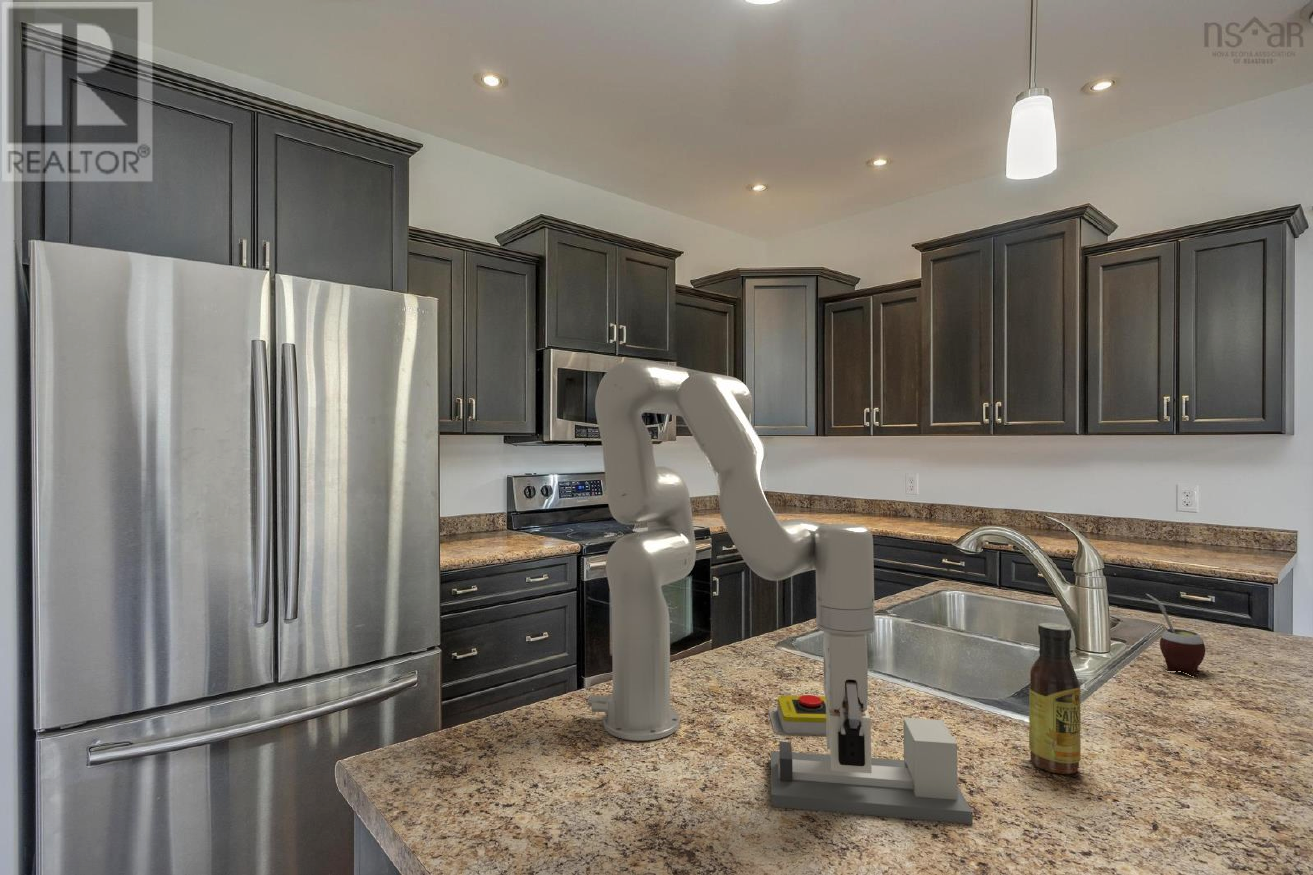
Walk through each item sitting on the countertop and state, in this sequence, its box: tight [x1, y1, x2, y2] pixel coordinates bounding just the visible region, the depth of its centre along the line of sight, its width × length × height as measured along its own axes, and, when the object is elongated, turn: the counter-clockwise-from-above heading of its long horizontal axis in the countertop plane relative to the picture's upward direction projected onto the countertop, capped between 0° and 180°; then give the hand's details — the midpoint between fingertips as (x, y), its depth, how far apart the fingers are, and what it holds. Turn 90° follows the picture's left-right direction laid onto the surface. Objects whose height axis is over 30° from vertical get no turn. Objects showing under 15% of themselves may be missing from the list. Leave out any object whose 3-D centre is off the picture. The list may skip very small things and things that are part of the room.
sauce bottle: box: [1028, 622, 1082, 775], centre depth 92 cm, size 6×6×20 cm
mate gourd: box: [1145, 593, 1206, 678], centre depth 129 cm, size 8×8×15 cm
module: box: [825, 702, 872, 773], centre depth 86 cm, size 5×7×7 cm
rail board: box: [770, 717, 974, 825], centre depth 86 cm, size 24×12×8 cm, turn 80°
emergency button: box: [768, 694, 826, 736], centre depth 107 cm, size 9×4×15 cm
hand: (848, 749), depth 86 cm, fingers closed on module, 7 cm apart
